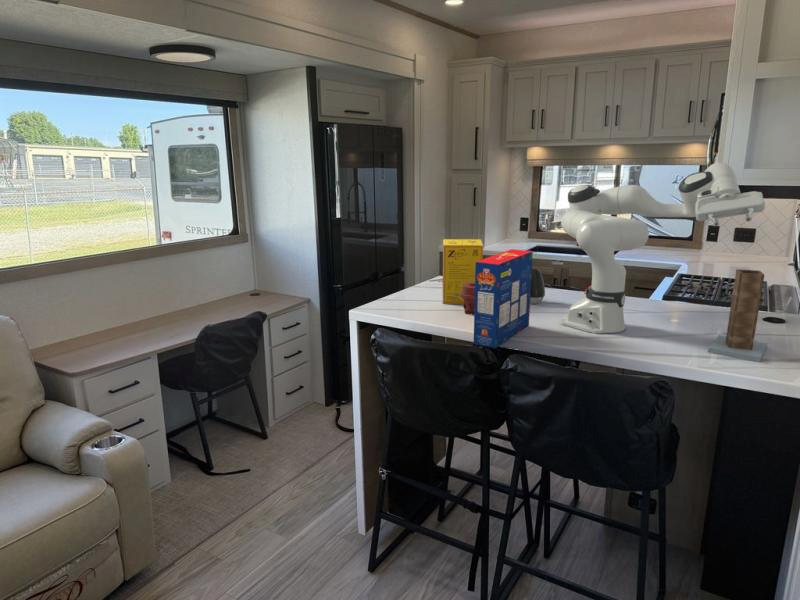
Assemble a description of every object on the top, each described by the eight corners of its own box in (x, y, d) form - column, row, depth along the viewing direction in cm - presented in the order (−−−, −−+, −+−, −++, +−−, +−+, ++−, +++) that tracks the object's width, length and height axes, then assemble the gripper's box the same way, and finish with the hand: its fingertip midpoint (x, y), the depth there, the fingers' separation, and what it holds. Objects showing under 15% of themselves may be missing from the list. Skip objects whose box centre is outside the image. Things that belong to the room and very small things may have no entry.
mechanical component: (458, 315, 218) (461, 308, 227) (484, 316, 216) (485, 309, 225) (459, 285, 214) (461, 279, 224) (485, 286, 212) (486, 280, 222)
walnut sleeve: (728, 347, 175) (740, 273, 169) (725, 341, 181) (736, 269, 175) (752, 350, 173) (764, 274, 167) (748, 343, 179) (759, 270, 173)
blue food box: (508, 322, 208) (511, 249, 201) (528, 326, 203) (532, 251, 196) (473, 343, 186) (475, 261, 179) (495, 348, 181) (498, 264, 174)
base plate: (707, 352, 176) (711, 328, 174) (718, 339, 188) (721, 317, 186) (759, 362, 167) (763, 337, 165) (767, 347, 179) (771, 324, 177)
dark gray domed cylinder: (543, 299, 239) (545, 265, 235) (545, 306, 229) (547, 270, 225) (519, 299, 241) (521, 264, 237) (520, 305, 231) (521, 269, 227)
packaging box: (443, 294, 250) (443, 239, 244) (479, 294, 249) (480, 239, 242) (442, 303, 235) (443, 245, 228) (481, 304, 233) (482, 245, 227)
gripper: (760, 197, 189) (769, 223, 180) (693, 208, 198) (698, 234, 189) (761, 182, 185) (770, 208, 176) (692, 194, 194) (697, 220, 185)
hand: (732, 222), depth 183 cm, fingers open, 8 cm apart
